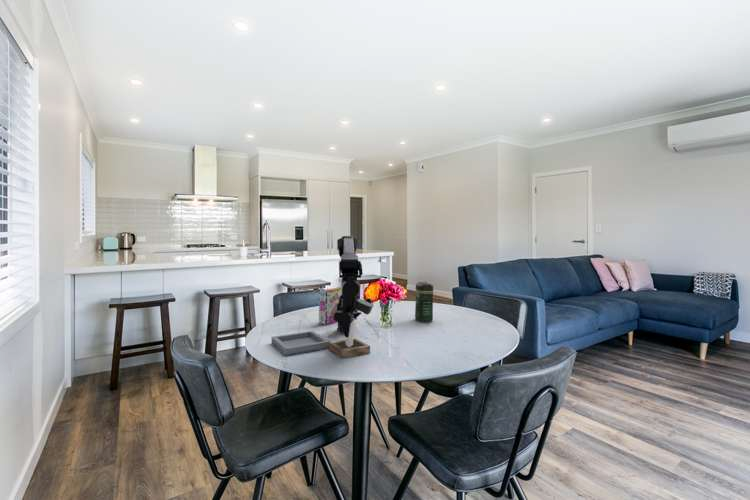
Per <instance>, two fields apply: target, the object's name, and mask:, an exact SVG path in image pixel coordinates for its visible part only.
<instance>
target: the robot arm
mask: <svg viewBox="0 0 750 500" xmlns="http://www.w3.org/2000/svg"><path fill="white" fill-rule="evenodd" d="M336 242H337V244H336V247H337V248H336V250H337V251H338V255H339V257H340V260H338V274H339V275H338V277H339V279H341V287H342V294H341V296H340V297H339V303H337V312H336V313H335V314H334V315H333V320H334V321H338V322H337V327H336V330H337V331H339V332H341V333H343V334H344V338H345V337H349V332H350V325H351V322H352V321H353V320H354V319H355V320H356V321H357V319H358V317H359V316H360V315H362V313H363V314H365V315H367V316H368V315H369V314H370V313H371V312H372V310H373V308H374V303H373V299H372V298H369V297H367V298H366V299H362V298H361V296H360V285H359V283H358V279H359V278H360V279H361V278H362V276H363V264H362V262H361V260H359V256H358V254H356V253H357V251H358V239H357V238H355V236H353V235H343V236H341V238H338V239H337V241H336ZM353 318H354V319H353Z"/></svg>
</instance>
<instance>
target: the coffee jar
mask: <svg viewBox="0 0 750 500" xmlns="http://www.w3.org/2000/svg"><path fill="white" fill-rule="evenodd" d="M433 304H434V285H432V284H431V283H428V282H426V281H418V282H417V283H416V284H415V307H414V308H415V310H414V314H415V315H414V317H415V318H414V319H415V320H416V321H418V322H423V323H430V322H432V321H433V320H434V319H433V317H434V315H433V314H434V312H433V310H434V305H433Z"/></svg>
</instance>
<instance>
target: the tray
mask: <svg viewBox="0 0 750 500" xmlns="http://www.w3.org/2000/svg"><path fill="white" fill-rule="evenodd" d="M330 342H331V341H330V340H328V338H325V337H323V336H322V335H320V333H317V332H316V331H314V330H308V331H301V332H295V333H287V334H282V335H281V334H279V335H274V336H271V344H272V345H273V346H274V347H275V348H277V350H278V351H280V352H281V353H282V354H283V355H285V356H286V357H289V356H294V355H300V354H305V353H310V352H316V351H322V350H327V349H329V343H330Z"/></svg>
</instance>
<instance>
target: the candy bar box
mask: <svg viewBox="0 0 750 500" xmlns="http://www.w3.org/2000/svg"><path fill="white" fill-rule="evenodd" d="M318 291H319V293H318V294H319V295H318V297H319V298H318V299H319V302H318V305H319V306H318V324H321V325H324V326H327V325H330V324H333V323H338V321H334V320H333V315H334V314H335V313H336V312H337V303H339V297H340V296H341V294H342V286H330V287H322V288H319V290H318Z"/></svg>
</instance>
